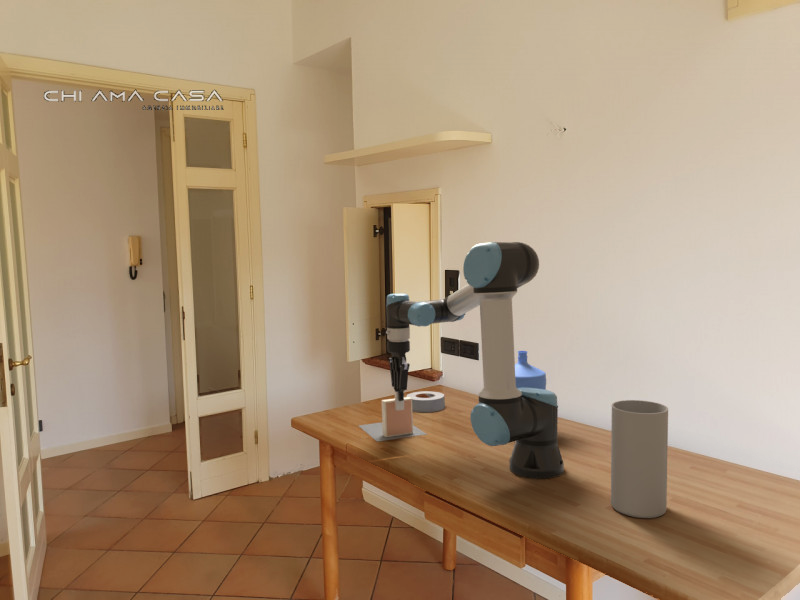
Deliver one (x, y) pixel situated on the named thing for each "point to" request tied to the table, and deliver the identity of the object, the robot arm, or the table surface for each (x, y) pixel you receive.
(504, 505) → the table surface
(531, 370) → the water jug
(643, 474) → the cylinder vase
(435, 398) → the tape roll
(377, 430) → the rubber mat
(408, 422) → the wooden plaque
